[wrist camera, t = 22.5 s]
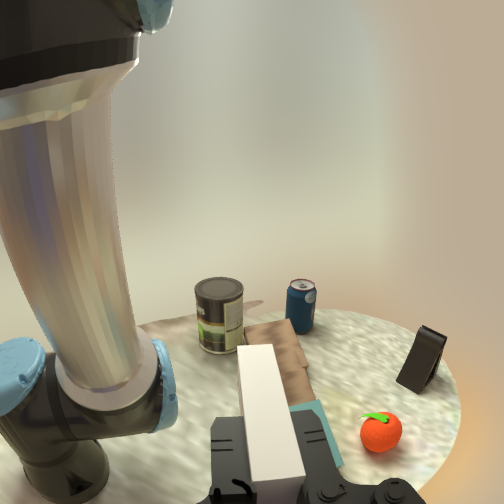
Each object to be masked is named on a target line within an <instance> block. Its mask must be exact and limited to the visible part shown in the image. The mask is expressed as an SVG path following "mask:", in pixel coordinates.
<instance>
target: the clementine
mask: <svg viewBox="0 0 504 504" xmlns="http://www.w3.org/2000/svg"><path fill="white" fill-rule="evenodd" d="M364 416H367V417H369V418H368V419H367V420H366V421H365V422H364V424H363V425H362V428H361V432H360V437H361V441H362V443H363V445H364V446H365V447H366V448H367V449H369V450H370V451H373V452H385V451H387V450H390V449H391V448H393V447H394V446H395V445H396V444H397V443H398V441H399V440H400V437H401V434H402V425H401V422H400V421H399V419H398V418H397V417H396V416H395V415H393V414H391V413H388V412H380V413H369V414H365V415H363V416H361V417H364ZM361 417H360V418H361Z"/></svg>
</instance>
